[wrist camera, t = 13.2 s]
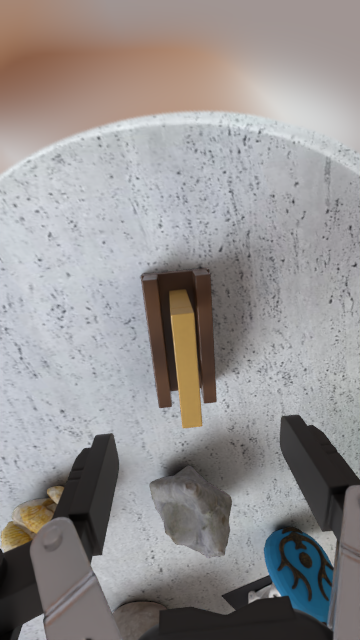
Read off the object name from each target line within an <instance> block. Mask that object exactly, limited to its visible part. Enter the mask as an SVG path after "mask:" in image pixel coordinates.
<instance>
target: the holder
mask: <svg viewBox="0 0 360 640" xmlns="http://www.w3.org/2000/svg"><path fill="white" fill-rule="evenodd" d="M141 282H142V290H143V297H144V304H145V311H146V318H147V326H148V333H149V340H150V347H151V354H152V362H153V369H154V376H155V383H156V391H157V396H158V403H159V408H166V407H172V396H171V391H177V390H178V381H177V371H176V362H175V352H174V343H173V333H172V324H171V313H170V297H169V291H172V290H183V289H186V291H187V294H188V297H189V300H190V303H191V306H192V309H193V312H194V318H195V332H196V346H197V359H198V373H199V387H200V388H201V392H202V397H203V401H204V403H213V402H217V400H216V379H215V358H214V338H213V317H212V296H211V275H210V274H209V269H208V268H200V269H190V270H179V271H169V272H158V273H148V274H142V275H141Z"/></svg>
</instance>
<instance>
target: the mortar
mask: <svg viewBox="0 0 360 640" xmlns="http://www.w3.org/2000/svg"><path fill="white" fill-rule="evenodd" d="M159 610H167V608H165V607H164V606H162V605H161V604H158V603H154V602H133V603H128V604H125V605H123V606H121V607H119V608H118V609H117V610H116V611H115V612H114V613H113V614H112V615H113V617H114V619H115V622H116V624H117V627H118V629H119V631H120V634H121V636H122V638H123V640H138V638H140V637H141V636H142V635H143V634H144V633H145V632H146V631H147V630H149V629H150V628H151V627H153V626H154V625H156V624H158V623H159Z"/></svg>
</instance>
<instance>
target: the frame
mask: <svg viewBox="0 0 360 640" xmlns="http://www.w3.org/2000/svg"><path fill="white" fill-rule="evenodd" d="M169 297H170V313H171V324H172V333H173V343H174V352H175V362H176V371H177V381H178V390H179V400H180V409H181V419H182V427H183V428H191V427H200V426H202V414H201V400H200V387H199V373H198V359H197V346H196V332H195V318H194V312H193V309H192V306H191V303H190V300H189V297H188V294H187V291H186V289H183V290H172V291H169Z"/></svg>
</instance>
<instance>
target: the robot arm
mask: <svg viewBox="0 0 360 640" xmlns="http://www.w3.org/2000/svg"><path fill="white" fill-rule="evenodd" d="M280 447H281V451H282V454H283V456H284V458H285V460H286V462H287V464H288V466H289V468H290V470H291V472H292V474H293V476H294V478H295V480H296V482H297V483H298V485H299V487H300V489H301V491H302V493H303V495H304V497H305V499H306V501H307V503H308V505H309V507H310V509H311V511H312V513H313V515H314V517H315V519H316V520H317V522H318V524H319V526H320V528H321V530H322V532H324V531H333V533H334V535H335V536H336V538H337V542H336V550H335V560H334V569H333V579H332V588H331V598H330V605H329V612H328V620H327V626H326V625H325V624H323V623H322V622H320V621H319V620H318V619H316V618H315V617H313V616H311V615H309V614H308V613H305V612H303V611H301V610H298V609H294V608H293V607H292V604H291V601H290V598H289V596H280V597H272V598H263V599H256V600H255V601H253V602H251V603H249V604H247V605H245V606H243V607H241V608H239V609H238V610H236V611H234V612H232V613H230V614H228V615H222V614H218V613H214V612H210V611H206V610H202V609H198V608H194V607H184V608H175V609H167V610H159V623H158V624H156V625H154V626H153V627H151V628H150V629H149V630H147V631H146V632H145V633H144V634H143V635H142V636H141V637H140V638H138V640H360V480H359V478H358V477H357V476H356V474H355V473H354V472H353V470H352V469H351V468H350V467H349V465H348V464H347V463H346V461H345V460H344V459H343V457H342V456H341V455H340V454H339V453H338V452H337V450H336V448H335V447H334V446H333V445H332V444H331V442H330V441H329V439H328V438H327V437H326V435H325V434H324V433H323V432H322V431H320V430H319V429H318V428H316V427H315V426H313V425H309V426H307V425H306V423H305V422H304V421H303V419H302V418H301V416H300V415H289V416H282V417H281V428H280ZM118 471H119V458H118V453H117V448H116V444H115V439H114V435H113V434H112V433H111V434H101V435H96V436H95V438H94V441H93V444H92V447H91V448H84V449H83V450H82V452H81V453H80V454H79V455H78V456H77V458H76V459H75V462H74V464H73V467H72V471H71V472H70V474H69V477H68V481H67V482H66V484H65V487H64V489H63V492H62V494H61V497H60V499H59V502H58V504H57V507H56V509H55V512H54V514H53V517H52V519H51V521H49V522H48V523H46V524H45V525H44V526H43V527H42V528H41V529H40V530H39V531H38V532H37V534H36V535H35V537H34V539H32V540H31V541H29V542H27V543H25V544H23V545H20V546H18V547H16V548H14V549H11V550H9V551H7V552H5V553H3V552H2V550H1V549H0V640H18V637H19V634H20V631H21V628H22V625H23V624H24V623H26V622H28V621H30V620H32V619H33V618H35V617H37V616H39V615H41V614H43V613H44V619H43V623H44V629H45V634H46V639H47V640H123V638H122V636H121V634H120V631H119V629H118V627H117V624H116V622H115V619H114V617H113V615H112V612H111V610H110V607H109V605H108V603H107V600H106V598H105V596H104V593H103V591H102V588H101V586H100V584H99V581H98V579H97V577H96V575H95V573H94V572H93V570H92V567H91V560H92V556H97V555H102V551H103V546H104V541H105V536H106V531H107V526H108V521H109V516H110V511H111V506H112V501H113V497H114V492H115V487H116V482H117V477H118Z"/></svg>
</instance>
